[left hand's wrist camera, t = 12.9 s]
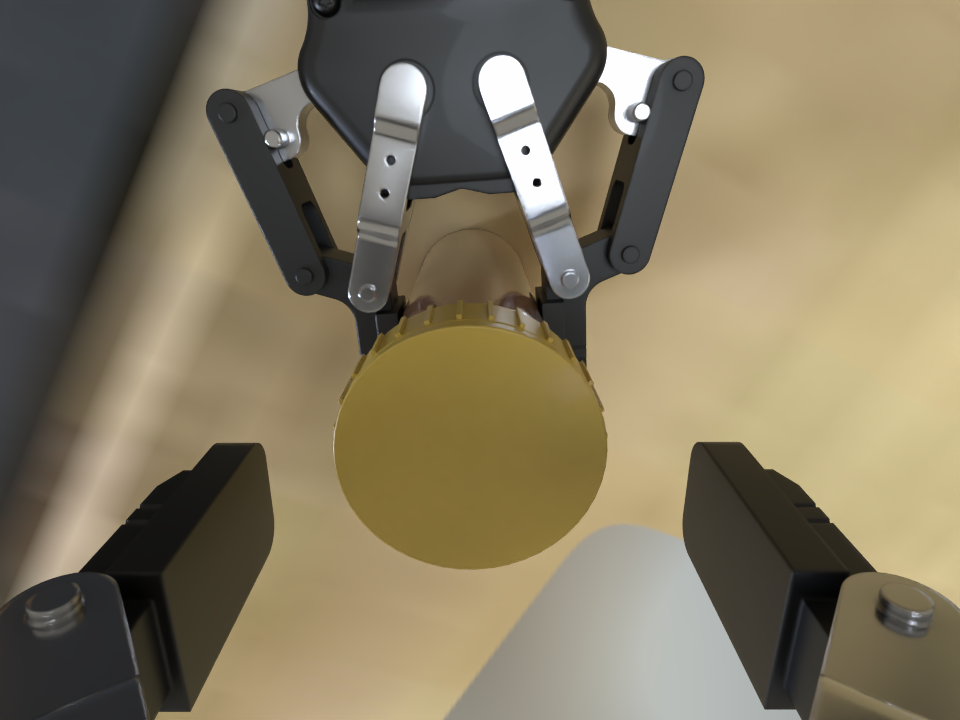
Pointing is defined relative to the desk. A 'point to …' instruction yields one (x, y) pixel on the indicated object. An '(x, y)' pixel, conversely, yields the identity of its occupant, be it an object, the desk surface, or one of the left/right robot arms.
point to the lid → (470, 437)
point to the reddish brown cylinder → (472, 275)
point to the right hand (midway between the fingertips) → (478, 402)
